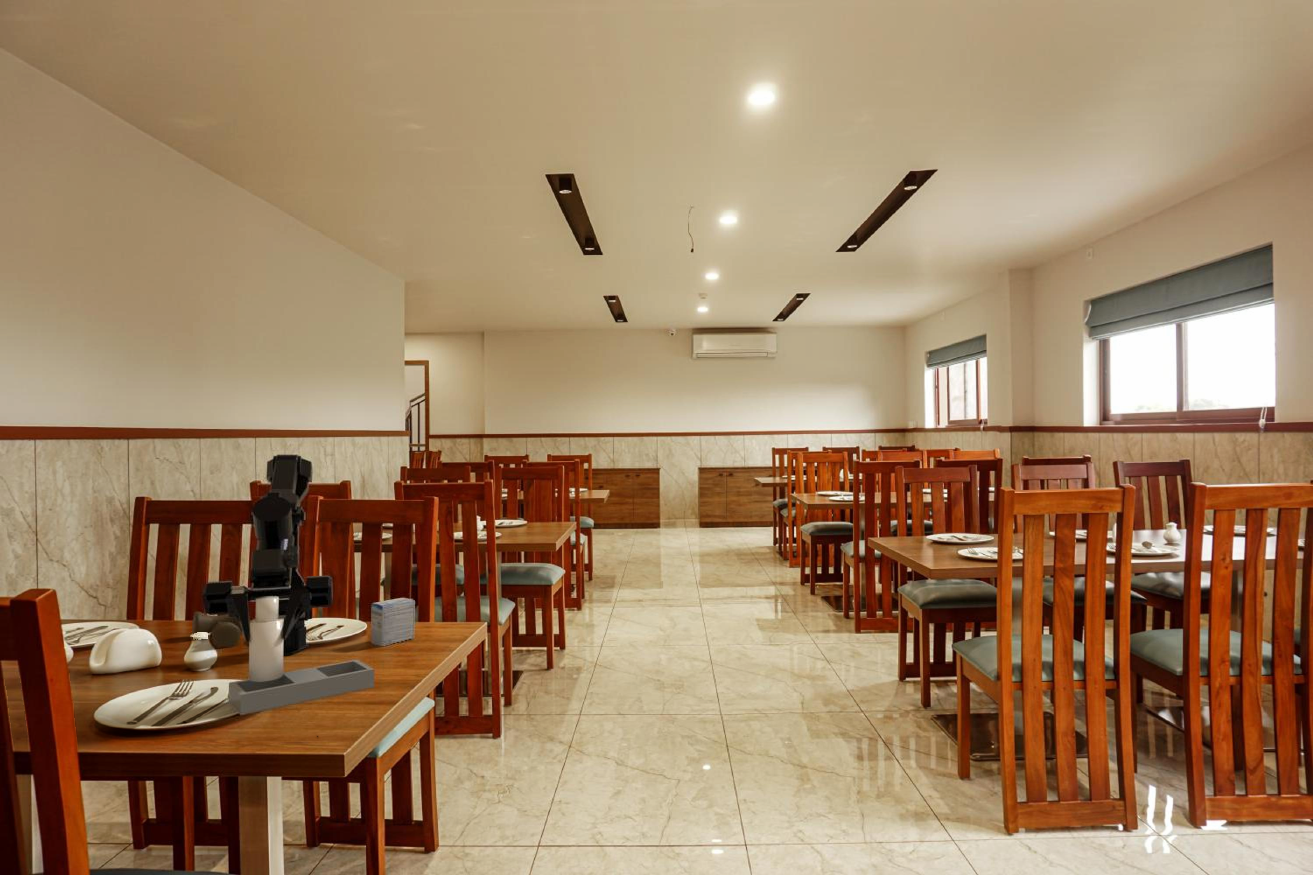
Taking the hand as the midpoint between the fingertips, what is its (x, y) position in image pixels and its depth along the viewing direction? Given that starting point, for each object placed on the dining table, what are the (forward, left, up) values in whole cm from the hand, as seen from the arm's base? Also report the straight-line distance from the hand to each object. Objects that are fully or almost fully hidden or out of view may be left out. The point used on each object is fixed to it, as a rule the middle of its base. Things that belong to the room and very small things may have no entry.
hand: (265, 639), depth 114 cm
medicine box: (0, +42, -11) cm, 43 cm away
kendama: (-38, +40, -11) cm, 56 cm away
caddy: (+3, +5, -11) cm, 12 cm away
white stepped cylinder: (-1, +1, -6) cm, 6 cm away
